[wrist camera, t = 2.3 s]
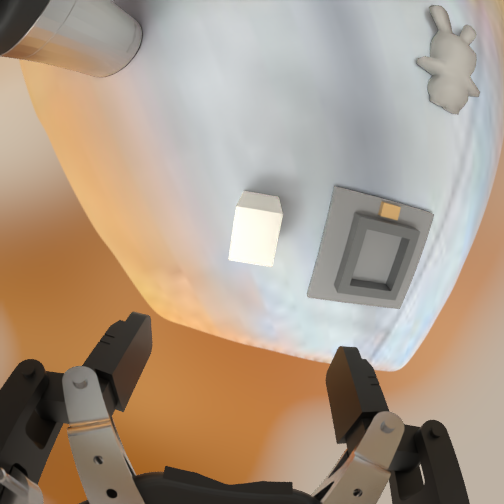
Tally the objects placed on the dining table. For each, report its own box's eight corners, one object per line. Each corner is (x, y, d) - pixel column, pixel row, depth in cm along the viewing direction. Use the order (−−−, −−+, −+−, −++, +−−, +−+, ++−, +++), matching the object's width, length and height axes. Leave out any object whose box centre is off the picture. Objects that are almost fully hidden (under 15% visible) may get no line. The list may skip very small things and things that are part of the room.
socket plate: (306, 293, 35) (309, 305, 32) (334, 185, 30) (341, 190, 27) (397, 305, 35) (404, 316, 32) (430, 212, 30) (442, 218, 27)
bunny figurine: (424, 90, 21) (435, -6, 14) (404, 92, 25) (417, 4, 18) (480, 125, 21) (490, 33, 14) (458, 121, 26) (469, 37, 19)
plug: (236, 232, 32) (228, 259, 25) (243, 190, 30) (236, 205, 23) (270, 238, 32) (272, 267, 25) (278, 196, 30) (283, 214, 23)
